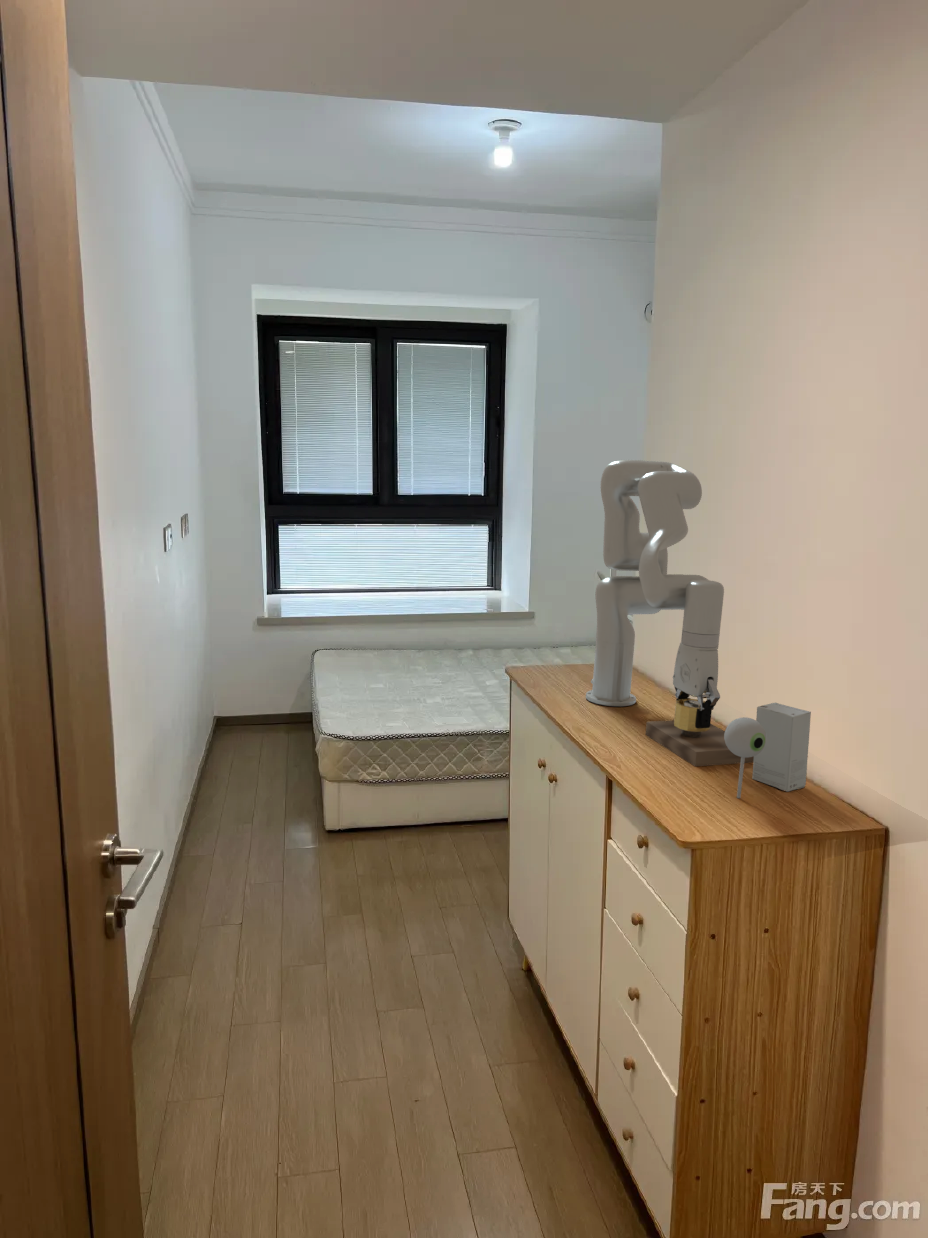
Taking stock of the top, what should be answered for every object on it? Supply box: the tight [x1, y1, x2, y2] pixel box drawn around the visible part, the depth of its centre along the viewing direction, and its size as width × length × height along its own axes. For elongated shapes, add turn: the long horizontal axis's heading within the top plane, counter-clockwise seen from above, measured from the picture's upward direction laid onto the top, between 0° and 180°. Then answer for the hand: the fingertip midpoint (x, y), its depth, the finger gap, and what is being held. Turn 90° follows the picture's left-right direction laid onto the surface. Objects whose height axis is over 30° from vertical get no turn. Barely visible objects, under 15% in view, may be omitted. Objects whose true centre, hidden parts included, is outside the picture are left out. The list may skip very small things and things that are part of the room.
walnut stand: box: [644, 719, 754, 767], centre depth 179 cm, size 20×14×3 cm
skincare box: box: [751, 702, 812, 792], centre depth 159 cm, size 8×6×15 cm
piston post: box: [681, 700, 701, 738], centre depth 177 cm, size 4×4×7 cm
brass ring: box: [673, 697, 710, 732], centre depth 177 cm, size 7×7×5 cm
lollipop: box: [724, 717, 766, 799], centre depth 151 cm, size 7×7×15 cm
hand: (692, 721), depth 177 cm, fingers closed on brass ring, 7 cm apart
